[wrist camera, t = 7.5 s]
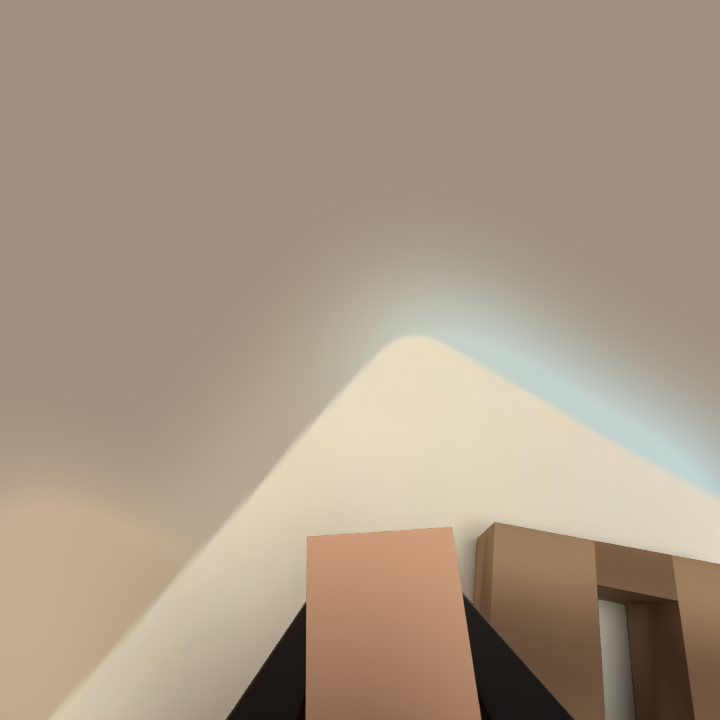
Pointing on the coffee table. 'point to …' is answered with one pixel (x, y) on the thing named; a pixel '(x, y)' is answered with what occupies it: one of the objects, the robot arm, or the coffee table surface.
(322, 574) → the rectangular block
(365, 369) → the coffee table surface
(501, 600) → the slot box
